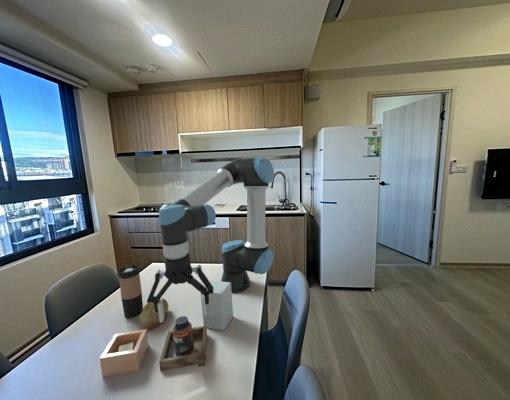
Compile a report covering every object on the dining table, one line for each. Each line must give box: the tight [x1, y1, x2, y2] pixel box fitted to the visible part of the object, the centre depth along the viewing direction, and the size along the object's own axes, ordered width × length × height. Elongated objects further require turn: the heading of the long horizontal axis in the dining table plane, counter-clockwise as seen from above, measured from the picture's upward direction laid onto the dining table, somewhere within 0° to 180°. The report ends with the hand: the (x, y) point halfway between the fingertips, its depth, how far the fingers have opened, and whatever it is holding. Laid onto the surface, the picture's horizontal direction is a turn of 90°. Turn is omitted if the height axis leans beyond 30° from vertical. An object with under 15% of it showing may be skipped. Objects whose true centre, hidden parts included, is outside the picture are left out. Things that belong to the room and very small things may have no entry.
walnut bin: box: [158, 325, 208, 371], centre depth 74 cm, size 13×13×4 cm
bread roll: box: [139, 297, 169, 331], centre depth 91 cm, size 10×15×8 cm, turn 3°
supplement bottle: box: [172, 315, 194, 357], centre depth 74 cm, size 6×6×11 cm
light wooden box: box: [99, 329, 149, 378], centre depth 71 cm, size 10×10×7 cm
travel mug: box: [117, 264, 144, 319], centre depth 96 cm, size 8×8×20 cm
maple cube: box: [118, 342, 134, 352], centre depth 71 cm, size 4×4×4 cm
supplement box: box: [200, 279, 234, 331], centre depth 88 cm, size 9×9×15 cm
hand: (184, 316), depth 73 cm, fingers open, 13 cm apart
